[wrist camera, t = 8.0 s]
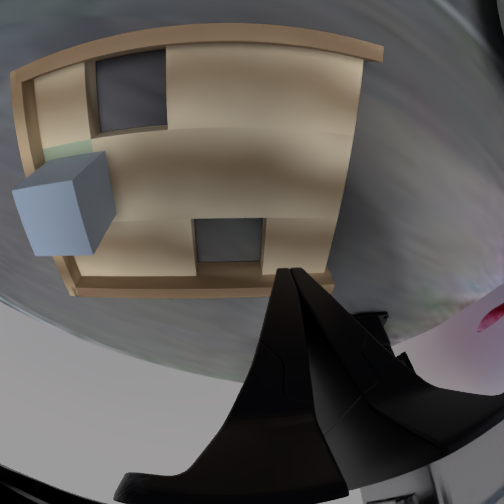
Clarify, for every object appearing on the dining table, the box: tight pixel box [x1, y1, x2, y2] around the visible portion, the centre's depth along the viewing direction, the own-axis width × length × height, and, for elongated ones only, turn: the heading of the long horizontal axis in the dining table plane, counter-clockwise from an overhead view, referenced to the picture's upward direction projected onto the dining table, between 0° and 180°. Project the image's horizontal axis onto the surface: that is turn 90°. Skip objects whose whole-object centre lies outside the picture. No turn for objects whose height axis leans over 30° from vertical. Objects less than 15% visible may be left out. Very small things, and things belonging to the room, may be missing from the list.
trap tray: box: [10, 23, 384, 299], centre depth 16 cm, size 18×22×3 cm
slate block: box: [12, 151, 117, 256], centre depth 14 cm, size 4×4×4 cm
